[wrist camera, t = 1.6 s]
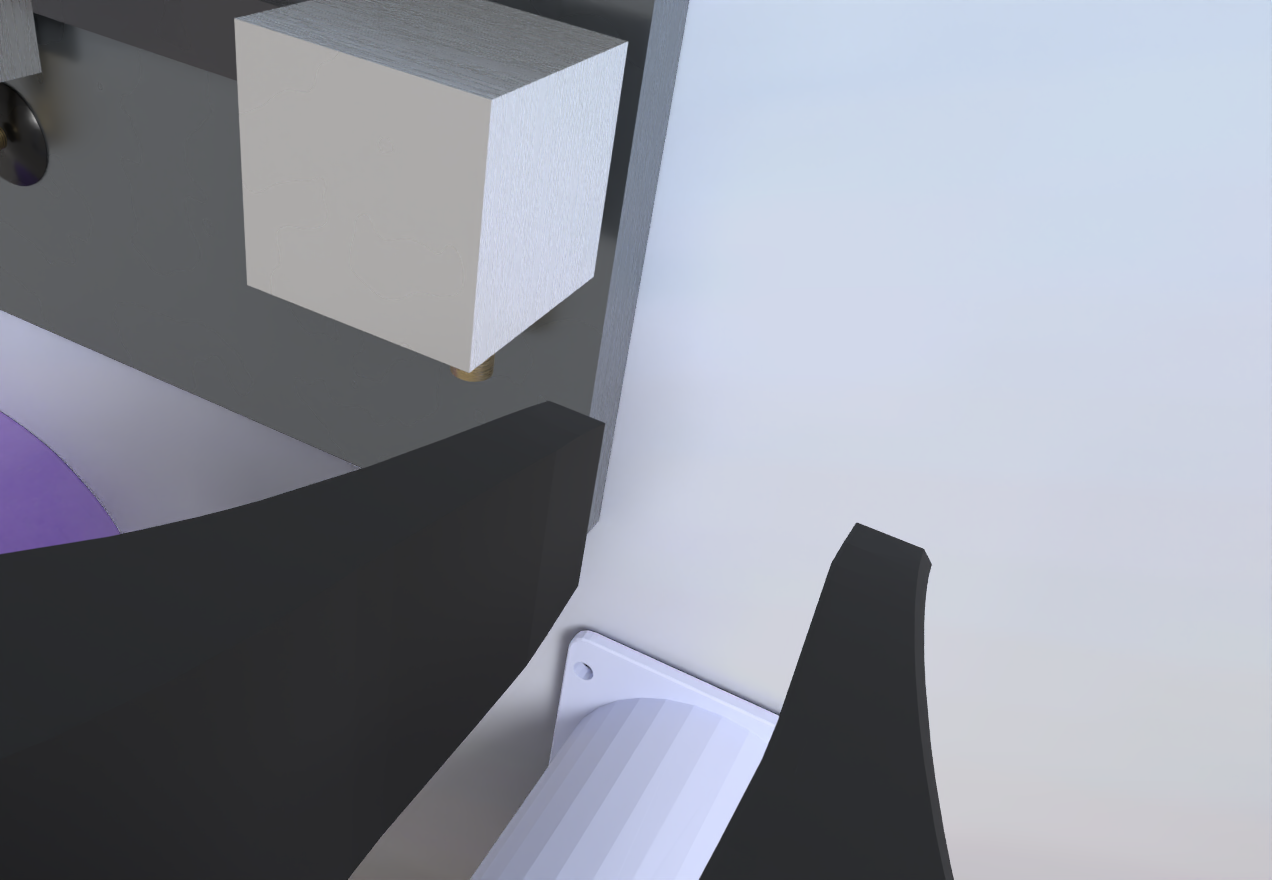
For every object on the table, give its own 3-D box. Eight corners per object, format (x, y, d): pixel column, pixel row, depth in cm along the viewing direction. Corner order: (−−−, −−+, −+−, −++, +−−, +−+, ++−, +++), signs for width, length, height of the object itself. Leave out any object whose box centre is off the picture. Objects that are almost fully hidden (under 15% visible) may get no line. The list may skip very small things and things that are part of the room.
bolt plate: (598, 521, 25) (451, 692, 20) (2, 268, 30) (-228, 359, 25) (721, -185, 17) (527, -173, 12) (-117, -372, 22) (-485, -414, 17)
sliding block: (586, 387, 21) (458, 507, 17) (408, 318, 22) (253, 418, 19) (640, 36, 17) (491, 100, 14) (423, -26, 18) (233, 18, 15)
